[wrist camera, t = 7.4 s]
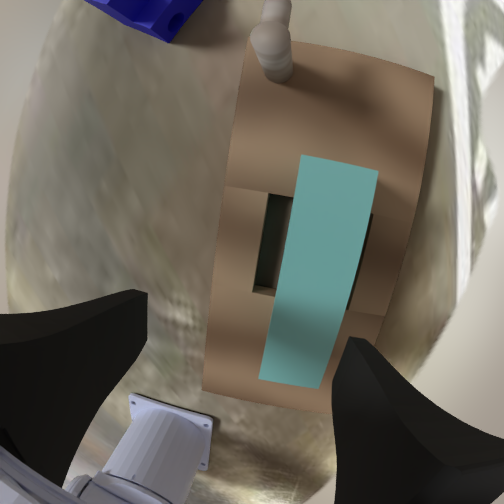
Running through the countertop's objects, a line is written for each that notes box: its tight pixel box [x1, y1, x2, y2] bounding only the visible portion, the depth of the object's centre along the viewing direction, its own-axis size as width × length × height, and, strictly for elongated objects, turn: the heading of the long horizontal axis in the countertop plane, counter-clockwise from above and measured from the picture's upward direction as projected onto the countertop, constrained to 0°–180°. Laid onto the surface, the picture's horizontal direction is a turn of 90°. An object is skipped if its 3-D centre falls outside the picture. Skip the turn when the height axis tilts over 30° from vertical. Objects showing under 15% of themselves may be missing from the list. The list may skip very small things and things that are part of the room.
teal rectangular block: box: [258, 154, 379, 389], centre depth 15 cm, size 11×3×4 cm, turn 171°
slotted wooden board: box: [202, 0, 434, 414], centre depth 16 cm, size 25×11×6 cm, turn 171°
